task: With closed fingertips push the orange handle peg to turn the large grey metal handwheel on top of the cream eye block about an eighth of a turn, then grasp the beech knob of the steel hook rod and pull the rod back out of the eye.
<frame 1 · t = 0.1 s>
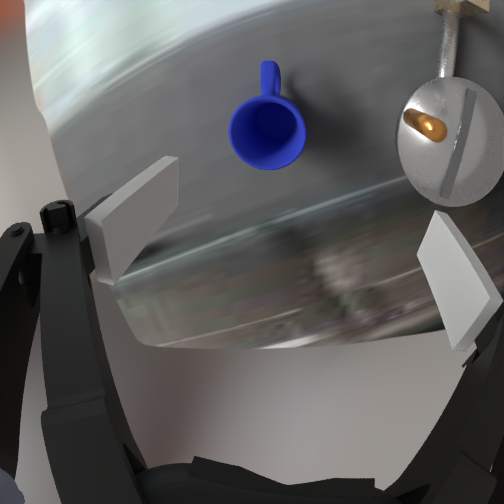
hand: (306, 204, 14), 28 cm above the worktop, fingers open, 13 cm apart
handwheel: (471, 152, 23), point 13 cm above the worktop, hinge at 0.0°
mug: (277, 105, 37), on the worktop
hook rod: (452, 75, 25), point 5 cm above the worktop, slide at 0.0 cm
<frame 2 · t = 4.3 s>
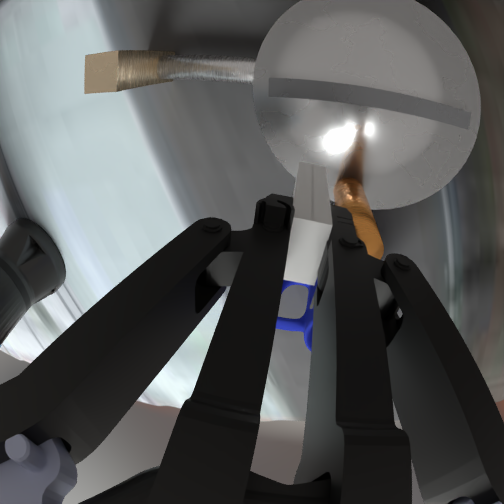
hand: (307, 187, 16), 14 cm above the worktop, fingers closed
handwheel: (389, 103, 13), point 13 cm above the worktop, hinge at 6.5°, touching gripper
mug: (326, 271, 36), on the worktop
hook rod: (259, 72, 20), point 5 cm above the worktop, slide at 0.0 cm
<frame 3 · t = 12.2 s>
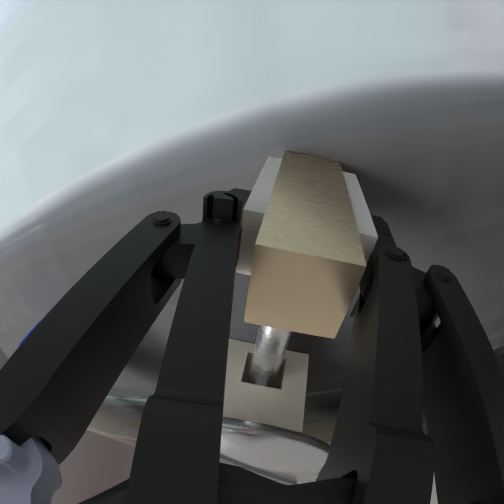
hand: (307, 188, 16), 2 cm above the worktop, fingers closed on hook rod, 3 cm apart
handwheel: (235, 496, 17), point 13 cm above the worktop, hinge at 51.2°
eye block: (263, 367, 28), on the worktop
hook rod: (268, 363, 20), point 5 cm above the worktop, slide at 0.0 cm, touching gripper
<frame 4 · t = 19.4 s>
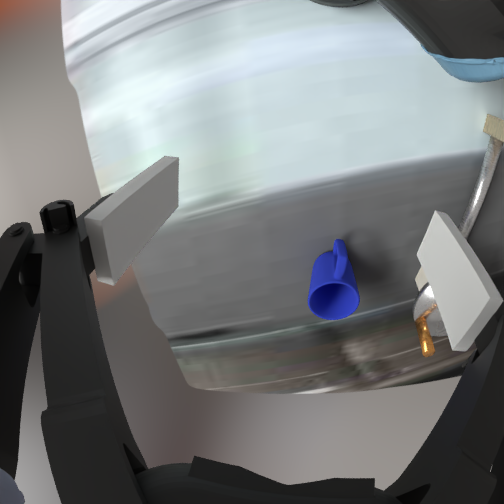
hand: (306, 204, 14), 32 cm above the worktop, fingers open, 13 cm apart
handwheel: (459, 318, 39), point 13 cm above the worktop, hinge at 51.2°
mug: (333, 255, 53), on the worktop
hook rod: (487, 197, 35), point 5 cm above the worktop, slide at 9.7 cm
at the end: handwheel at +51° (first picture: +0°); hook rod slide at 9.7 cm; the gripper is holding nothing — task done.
